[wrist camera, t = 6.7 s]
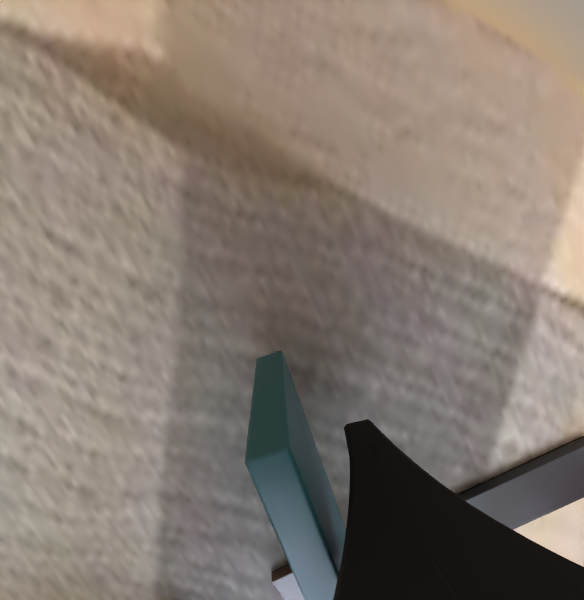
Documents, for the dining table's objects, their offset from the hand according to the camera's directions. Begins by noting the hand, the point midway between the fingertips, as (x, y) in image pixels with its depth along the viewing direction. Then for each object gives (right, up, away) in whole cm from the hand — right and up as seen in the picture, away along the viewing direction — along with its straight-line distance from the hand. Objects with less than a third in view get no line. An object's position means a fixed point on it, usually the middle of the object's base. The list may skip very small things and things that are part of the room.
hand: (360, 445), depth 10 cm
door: (-2, -2, +2) cm, 3 cm away
